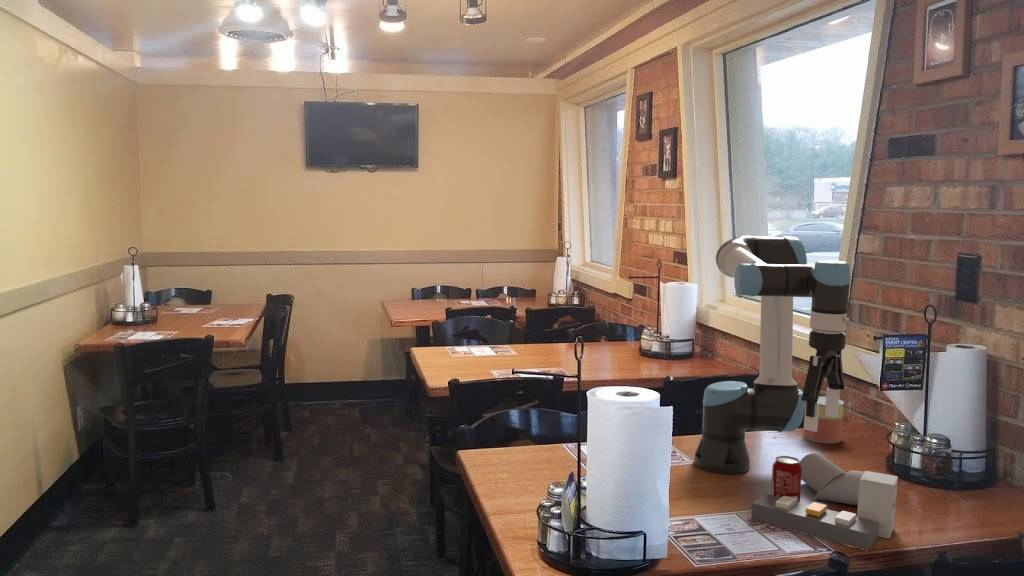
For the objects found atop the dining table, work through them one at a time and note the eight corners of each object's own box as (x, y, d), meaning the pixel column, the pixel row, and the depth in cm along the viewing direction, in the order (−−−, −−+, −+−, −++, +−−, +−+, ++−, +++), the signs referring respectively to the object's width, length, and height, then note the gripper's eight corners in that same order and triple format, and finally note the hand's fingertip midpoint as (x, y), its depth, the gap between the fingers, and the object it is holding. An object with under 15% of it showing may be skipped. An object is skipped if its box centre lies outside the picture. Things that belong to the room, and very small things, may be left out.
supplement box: (890, 540, 181) (894, 485, 180) (854, 532, 185) (858, 478, 183) (894, 528, 187) (898, 475, 186) (860, 521, 191) (864, 469, 190)
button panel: (751, 519, 191) (752, 497, 191) (764, 509, 197) (765, 488, 197) (866, 551, 175) (868, 528, 174) (877, 539, 181) (879, 517, 180)
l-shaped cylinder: (791, 497, 202) (879, 512, 194) (794, 454, 203) (882, 467, 195) (797, 490, 218) (878, 503, 210) (800, 450, 219) (881, 461, 211)
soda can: (801, 513, 195) (804, 464, 194) (771, 510, 197) (774, 462, 195) (797, 502, 202) (800, 455, 201) (768, 500, 203) (771, 453, 202)
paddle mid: (805, 513, 184) (805, 508, 184) (813, 506, 188) (813, 501, 188) (819, 516, 183) (819, 511, 182) (826, 510, 186) (826, 505, 186)
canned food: (842, 435, 259) (844, 398, 258) (840, 445, 249) (843, 407, 248) (804, 430, 264) (807, 394, 262) (801, 440, 254) (804, 402, 252)
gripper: (825, 341, 168) (818, 440, 171) (862, 325, 188) (855, 414, 191) (789, 336, 173) (783, 432, 176) (829, 321, 192) (823, 408, 195)
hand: (821, 423), depth 183 cm, fingers open, 13 cm apart
